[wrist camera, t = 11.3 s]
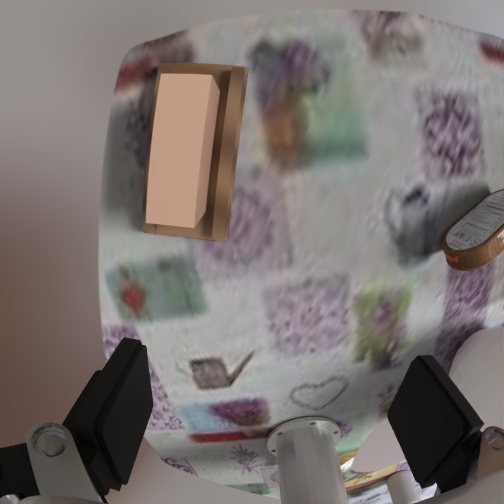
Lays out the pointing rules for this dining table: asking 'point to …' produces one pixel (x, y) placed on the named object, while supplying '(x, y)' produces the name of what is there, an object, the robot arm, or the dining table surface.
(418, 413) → the robot arm
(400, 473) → the beverage can
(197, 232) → the rack
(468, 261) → the tin
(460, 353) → the white vase
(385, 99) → the dining table surface
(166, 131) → the block
